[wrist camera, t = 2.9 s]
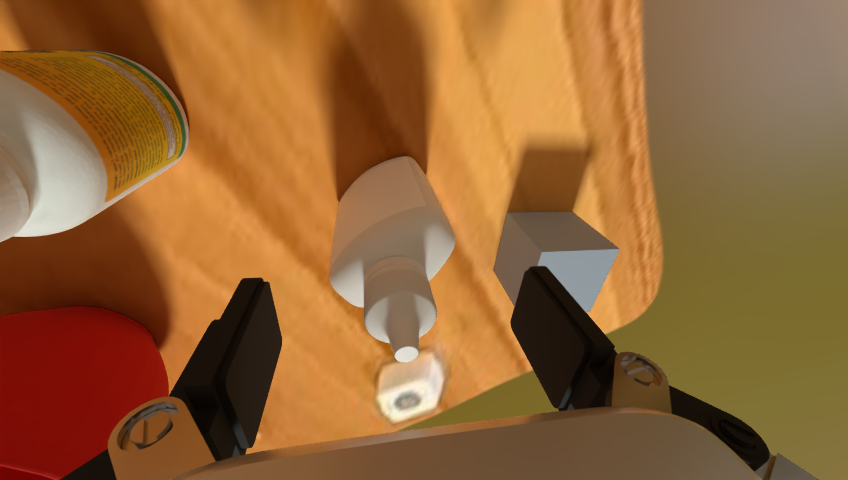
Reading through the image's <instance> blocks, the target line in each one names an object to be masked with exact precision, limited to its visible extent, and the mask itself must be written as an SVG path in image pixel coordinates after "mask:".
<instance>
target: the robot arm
mask: <svg viewBox="0 0 848 480" xmlns="http://www.w3.org/2000/svg"><path fill="white" fill-rule="evenodd" d="M511 328H512V330H513V332H514V334H515V336H516V338H517V340H518V342H519V344H520V345H521V347H522V349H523V351H524V353H525V355H526V357H527V359H528V360H529V362H530V364H531V366H532V368H533V370H534V372H535V374H536V375H537V377H538V379H539V381H540V383H541V385H542V387H543V388H544V390H545V392H546V394H547V396H548V398H549V400H550V402H551V403H552V405H553V406H554V407H555V408H558V409H559V411H558V412H549V413H541V414H533V415H526V416H518V417H509V418H501V419H493V420H485V421H477V422H470V423H462V424H454V425H446V426H439V427H431V428H423V429H416V430H408V431H401V432H393V433H386V434H379V435H371V436H364V437H356V438H349V439H342V440H334V441H327V442H320V443H313V444H306V445H300V446H293V447H287V448H280V449H274V450H267V451H261V452H256V453H251V454H246V455H245V453H246V450H247V448H252V447H253V445H254V442H255V439H256V435H257V432H258V428H259V425H260V421H261V418H262V414H263V411H264V407H265V404H266V400H267V397H268V393H269V389H270V386H271V382H272V379H273V375H274V372H275V368H276V365H277V361H278V358H279V354H280V351H281V347H282V336H281V332H280V327H279V323H278V319H277V314H276V310H275V306H274V301H273V297H272V293H271V288H270V284H269V282H264V281H263V279H262V278H243V279H242V280H241V281H240V283H239V285H238V287H237V289H236V291H235V292H234V294H233V296H232V298H231V300H230V302H229V303H228V305H227V307H226V309H225V311H224V313H223V314H222V316H221V318H220V319H219V320H214V321H212V322H211V324H210V325H209V327H208V328H207V330H206V332H205V334H204V335H203V337H202V339H201V341H200V342H199V344H198V346H197V348H196V349H195V351H194V353H193V355H192V356H191V358H190V360H189V362H188V363H187V365H186V367H185V369H184V370H183V372H182V374H181V376H180V377H179V379H178V381H177V383H176V384H175V386H174V388H173V390H172V391H171V393H170V395H169V397H161V398H157V399H153V400H151V401H149V402H146V403H144V404H142V405H140V406H139V407H137V408H136V409H134V410H133V411H131V412H129V413H128V414H127V415H126V416H125V417H124V418H123V419H122V420H121V421H120V422H119V423H118V424H117V426H116V427H115V428H114V430H113V431H112V433H111V435H110V438H109V440H108V448H107V449H106V450H104V451H103V452H101V453H100V454H98V455H97V456H95V457H94V458H92V459H91V460H89V461H88V462H86V463H84V464H83V465H81V466H80V467H78V468H77V469H75V470H74V471H72V472H71V473H69V474H68V475H66V476H65V477H63V478H61V479H60V480H819V479H817V478H816V477H814V476H813V475H811V474H810V473H808V472H807V471H805V470H804V469H802V468H800V467H799V466H797V465H796V464H794V463H793V462H791V461H790V460H788V459H787V458H785V457H784V456H782V455H780V454H779V453H777V454H776V455H772V454H771V453H770V452H769V450H768V448H767V445H766V444H765V442H764V441H763V440H762V438H761V437H760V436H759V435H758V434H757V433H756V432H755V431H754V430H753V429H752V428H751V427H750V426H748V425H747V424H745V423H744V422H743V421H742V420H740V419H738V418H736V417H734V416H733V415H731V414H729V413H727V412H724V411H722V410H720V409H718V408H716V407H714V406H712V405H709V404H708V403H705V402H703V401H701V400H699V399H697V398H695V397H693V396H691V395H689V394H686V393H684V392H682V391H680V390H678V389H676V388H674V387H672V386H669V382H668V379H667V376H666V374H665V373H664V372H663V370H662V369H661V368H660V367H659V366H658V365H657V364H656V363H654V362H653V361H651V360H650V359H649V358H647V357H645V356H643V355H640V354H637V353H634V352H620V353H619V354H617V353H616V351H615V350H614V347H615V346H614V345H613V344H612V342H611V341H610V340H609V339H608V338H607V337H606V335H605V334H604V333H603V332H602V331H601V329H600V328H599V327H598V326H597V325H596V324H595V322H594V321H593V320H592V319H591V318H590V317H589V315H588V314H587V313H586V312H585V311H584V310H583V308H582V307H581V306H580V305H579V304H578V303H577V301H576V300H575V299H574V298H573V297H572V296H571V294H570V293H569V292H568V291H567V290H566V288H565V287H564V286H563V285H562V284H561V283H560V281H559V280H558V279H557V278H556V277H555V276H554V274H553V273H552V272H551V271H550V270H549V269H548V268H547V267H546V266H531V267H529V269H528V270H526V271H525V272H524V275H523V279H522V283H521V286H520V290H519V293H518V297H517V300H516V304H515V307H514V311H513V314H512V318H511Z"/></svg>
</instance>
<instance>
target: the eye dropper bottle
mask: <svg viewBox="0 0 848 480" xmlns="http://www.w3.org/2000/svg"><path fill="white" fill-rule="evenodd" d="M455 241H456V240H455V235H454V232H453V229H452V227H451V225H450V223H449V220H448V218H447V216H446V214H445V212H444V210H443V208H442V206H441V204H440V202H439V200H438V198H437V196H436V194H435V192H434V190H433V188H432V186H431V184H430V182H429V180H428V178H427V177H426V175H425V174H424V172H423V171H422V169H421V168H420V166H419V165H418V164H417V162H416V161H415V160H414V159H413V158H411V157H407V156H403V157H397V158H393V159H390V160H387V161H384V162H382V163H380V164H378V165H376V166H374V167H372V168H370V169H369V170H367V171H366V172H364V173H363V174H362V175H361V176H359V177H358V178H357V179H356V180H355V181H354V182H353V183H352V184H351V185H350V187H349V188H348V189H347V190H346V192H345V193H344V195H343V196H342V198H341V200H340V202H339V204H338V208H337V215H336V222H335V229H334V236H333V244H332V252H331V261H330V271H329V281H330V283H331V285H332V287H333V288H334V290H335V291H336V292H337V293H338V294H339V295H341V296H342V297H343V298H344V299H345V300H347V301H348V302H349V303H351V304H352V305H355V306H357V307H364V323H365V328H367V331H368V332H369V333H370V335H372V336H373V337H375V338H376V339H378V340H380V341H383V342H386V343H390V345H391V347H392V350H393V353H394V356H395V358H396V360H397V361H399V362H410V361H412V360H414V359H415V358H416V357H417V356H418V350H419V338H420V337H421V336H423V335H424V334H426V333H427V332H428V331H429V330H430V329H431V328H432V326H433V324H434V323H435V320H436V317H437V316H436V315H437V310H436V305H435V302H434V298H433V295H432V291H431V288H430V284H429V281H430V280H431V279H432V278H433V277H434V276H435V275H436V274H437V272H438V271H439V270H440V269H441V267H442V266H443V265H444V263H445V262H446V261H447V259H448V258H449V256H450V254H451V253H452V251H453V249H454V246H455Z"/></svg>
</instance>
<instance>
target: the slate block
mask: <svg viewBox="0 0 848 480" xmlns="http://www.w3.org/2000/svg"><path fill="white" fill-rule="evenodd" d="M619 250H620V249H619V248H618V247H617V246H615V245H614V244H613V243H612V242H610V241H609V240H608V239H606V238H605V237H604V236H603V235H601V234H600V233H599V232H598V231H596V230H595V229H594V228H592V227H591V226H590V225H589V224H587V223H586V222H585V221H584V220H582V219H581V218H580V217H579V216H577V215H576V214H575V213H573V212H572V211H569V212H507V214H506V219H505V223H504V227H503V232H502V236H501V240H500V244H499V249H498V253H497V257H496V262H495V266H494V270H493V271H494V272H495V274H496V276H497V278H498V279H499V281H500V283H501V284H502V286H503V288H504V289H505V291H506V293H507V295H508V296H509V298H510V300H511V301H512V303H513V305H514V306H515V304H516V300H517V297H518V293H519V290H520V286H521V283H522V279H523V275H524V272H525V271H526V270H528V269H529V267H531V266H546V267H547V268H548V269H549V270H550V271H551V272H552V273H553V274H554V276H555V277H556V278H557V279H558V280H559V281H560V283H561V284H562V285H563V286H564V287H565V288H566V290H567V291H568V292H569V293H570V294H571V296H572V297H573V298H574V299H575V300H576V301H577V303H578V304H579V305H580V306H581V307H582V308H583V310H584V311H585V312H590V311H591V309H592V307H593V305H594V302H595V300H596V298H597V296H598V294H599V292H600V290H601V288H602V286H603V283H604V281H605V279H606V277H607V275H608V273H609V271H610V269H611V267H612V265H613V262H614V260H615V258H616V256H617V254H618V252H619Z"/></svg>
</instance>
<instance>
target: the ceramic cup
mask: <svg viewBox="0 0 848 480" xmlns="http://www.w3.org/2000/svg"><path fill="white" fill-rule="evenodd" d="M168 394H169V385H168V377H167V373H166V369H165V366H164V362H163V360H162V357H161V355H160V353H159V351H158V349H157V348H156V344H155V341H154V339H153V337H152V336H151V334H150V333H149V332H148V331H147V330H146V329H145V328H144V327H143V326H142V325H140V324H139V323H138V322H136V321H134V320H132V319H131V318H129V317H127V316H125V315H122V314H119V313H117V312H114V311H110V310H106V309H103V308H97V307H90V306H69V307H61V308H57V309H46V310H35V311H26V312H19V313H13V314H8V315H3V316H0V480H60V479H61V478H63V477H65V476H66V475H68V474H69V473H71V472H72V471H74V470H75V469H77V468H78V467H80V466H81V465H83V464H84V463H86V462H88V461H89V460H91V459H92V458H94V457H95V456H97V455H98V454H100V453H101V452H103V451H104V450H106V449H107V448H108V440H109V438H110V435H111V433H112V431H113V430H114V428H115V427H116V426H117V424H118V423H119V422H120V421H121V420H122V419H123V418H124V417H125V416H126V415H127V414H128V413H129V412H131V411H133V410H134V409H136V408H137V407H139V406H140V405H142V404H144V403H146V402H149V401H151V400H153V399H157V398H161V397H168Z"/></svg>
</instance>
